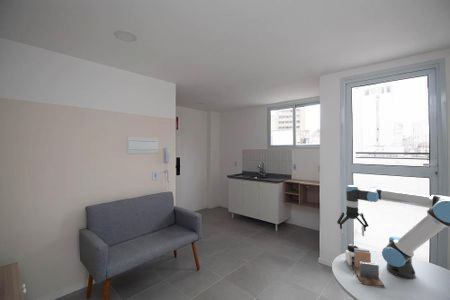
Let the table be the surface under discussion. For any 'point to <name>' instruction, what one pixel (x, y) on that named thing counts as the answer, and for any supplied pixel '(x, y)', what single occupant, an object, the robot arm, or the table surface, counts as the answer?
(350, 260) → the container
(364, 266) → the bookend
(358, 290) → the table surface
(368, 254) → the books
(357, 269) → the shelf
